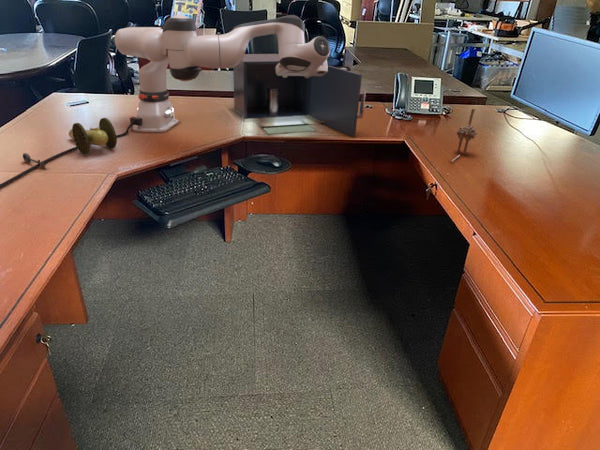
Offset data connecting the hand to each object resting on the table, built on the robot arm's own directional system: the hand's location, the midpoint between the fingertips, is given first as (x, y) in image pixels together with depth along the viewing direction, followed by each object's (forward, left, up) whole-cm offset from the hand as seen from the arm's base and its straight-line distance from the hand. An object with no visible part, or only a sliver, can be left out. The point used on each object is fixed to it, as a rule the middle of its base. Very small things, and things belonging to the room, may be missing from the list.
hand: (295, 76), depth 184 cm
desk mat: (+7, +3, -24) cm, 25 cm away
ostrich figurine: (-23, -66, -24) cm, 74 cm away
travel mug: (+48, -25, -24) cm, 59 cm away
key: (-49, +87, -24) cm, 103 cm away
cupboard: (+28, +11, -24) cm, 38 cm away
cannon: (-29, +77, -24) cm, 85 cm away
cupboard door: (+12, -20, -24) cm, 33 cm away
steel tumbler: (+25, +10, -23) cm, 35 cm away
